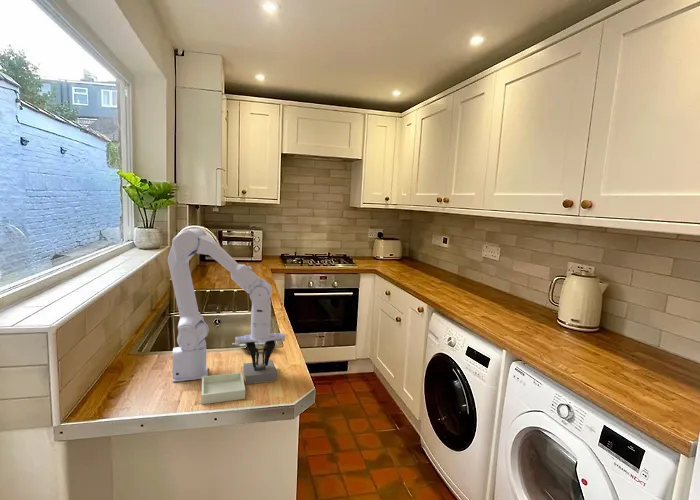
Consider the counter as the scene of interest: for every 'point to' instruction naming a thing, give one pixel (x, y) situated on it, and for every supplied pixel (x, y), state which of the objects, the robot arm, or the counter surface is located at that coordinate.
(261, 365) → the steel pin
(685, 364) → the counter surface
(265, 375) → the pin block
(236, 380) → the tray
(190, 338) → the robot arm
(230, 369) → the counter surface
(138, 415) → the counter surface
